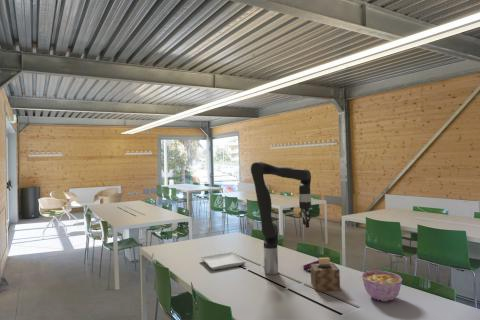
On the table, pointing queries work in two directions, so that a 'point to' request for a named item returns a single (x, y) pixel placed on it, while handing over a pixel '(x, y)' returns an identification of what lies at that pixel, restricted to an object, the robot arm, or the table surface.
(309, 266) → the mounting bracket
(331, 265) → the patterned tissue box
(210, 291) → the table surface
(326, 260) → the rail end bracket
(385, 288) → the bowl of food
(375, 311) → the table surface
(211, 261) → the square plate
